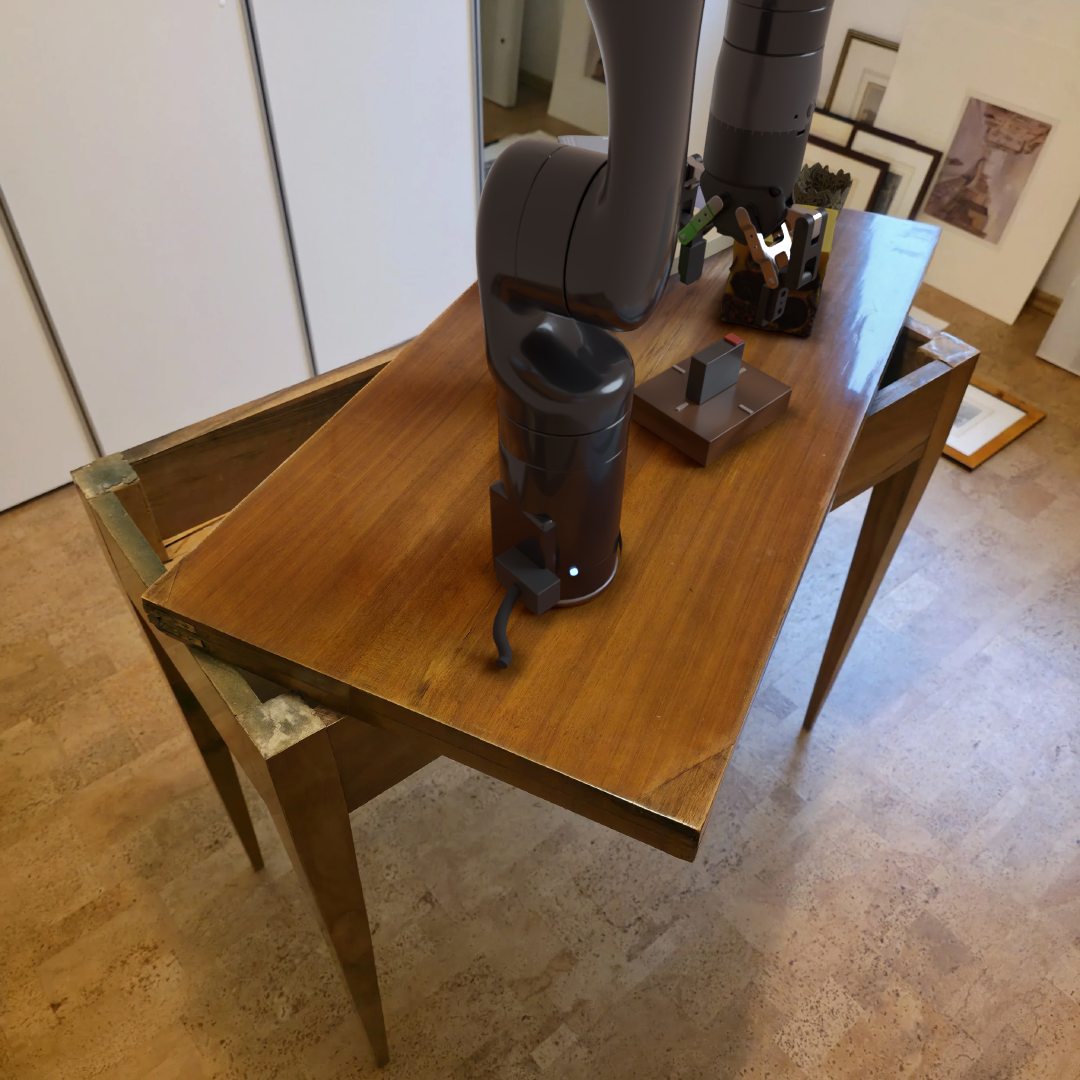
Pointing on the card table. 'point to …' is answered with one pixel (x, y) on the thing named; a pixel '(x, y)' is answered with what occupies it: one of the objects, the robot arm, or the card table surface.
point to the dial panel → (709, 410)
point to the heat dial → (714, 368)
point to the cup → (822, 187)
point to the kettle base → (713, 244)
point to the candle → (749, 281)
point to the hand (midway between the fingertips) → (727, 300)
